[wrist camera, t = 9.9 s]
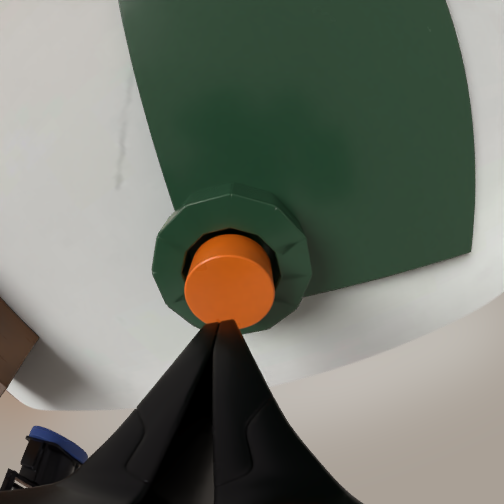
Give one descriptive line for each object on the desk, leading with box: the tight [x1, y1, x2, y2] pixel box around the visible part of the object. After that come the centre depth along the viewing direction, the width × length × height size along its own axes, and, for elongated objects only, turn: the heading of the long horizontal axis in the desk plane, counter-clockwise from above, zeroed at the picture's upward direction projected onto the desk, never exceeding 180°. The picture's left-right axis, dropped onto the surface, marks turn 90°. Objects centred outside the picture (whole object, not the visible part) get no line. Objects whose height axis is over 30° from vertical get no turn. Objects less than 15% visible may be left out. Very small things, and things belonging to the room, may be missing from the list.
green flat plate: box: [118, 0, 475, 334], centre depth 9 cm, size 18×15×2 cm
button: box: [184, 234, 275, 329], centre depth 11 cm, size 3×3×2 cm
